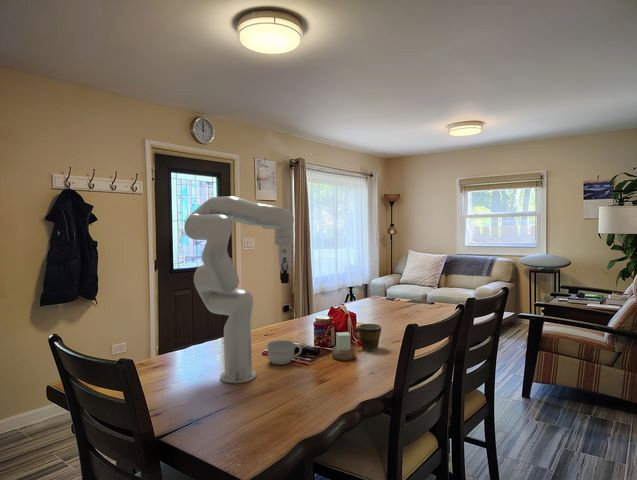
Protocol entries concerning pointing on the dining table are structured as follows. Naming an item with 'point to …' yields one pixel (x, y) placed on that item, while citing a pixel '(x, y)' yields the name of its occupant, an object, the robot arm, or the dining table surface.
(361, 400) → the dining table surface
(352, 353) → the brown round dish
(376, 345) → the ceramic cup
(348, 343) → the sage block
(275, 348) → the teacup
